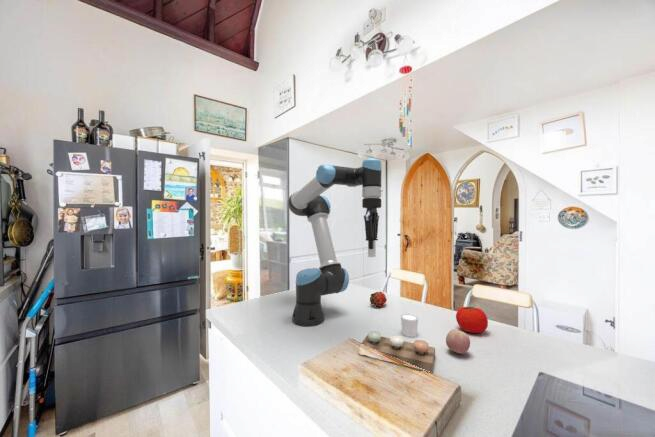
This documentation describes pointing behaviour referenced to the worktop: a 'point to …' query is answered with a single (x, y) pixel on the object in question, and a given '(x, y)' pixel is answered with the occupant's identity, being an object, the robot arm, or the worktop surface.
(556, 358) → the worktop surface
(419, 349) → the button terracotta
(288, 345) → the worktop surface
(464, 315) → the tomato
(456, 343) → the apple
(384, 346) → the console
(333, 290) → the robot arm
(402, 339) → the button ivory
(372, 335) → the button sage
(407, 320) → the white cylinder
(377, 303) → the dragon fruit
